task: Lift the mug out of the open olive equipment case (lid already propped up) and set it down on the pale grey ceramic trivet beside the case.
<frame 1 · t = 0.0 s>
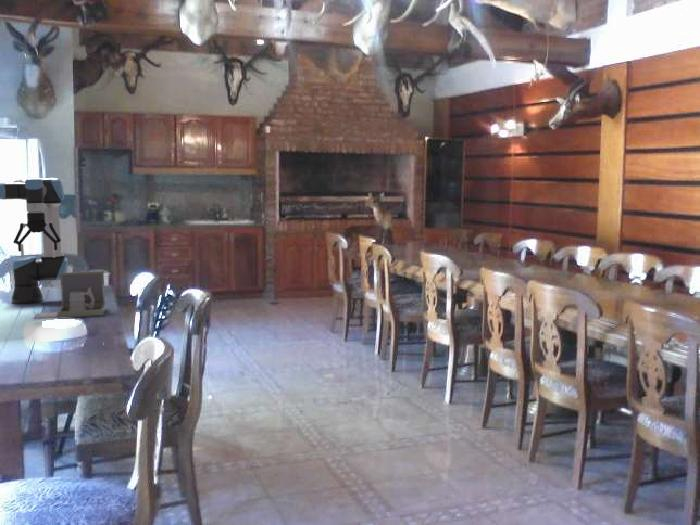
hand: (38, 258, 346), 28 cm above the table, fingers open, 13 cm apart
case: (82, 313, 357), on the table
trivet: (46, 316, 352), on the table
mug: (82, 312, 357), resting on case
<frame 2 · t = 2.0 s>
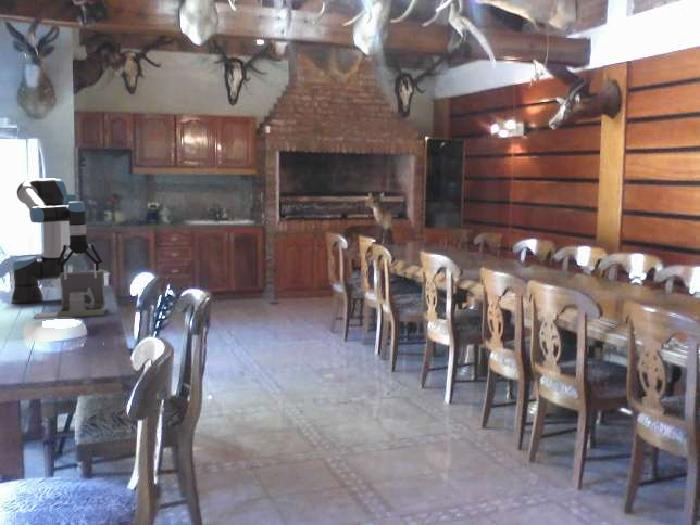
hand: (80, 278, 355), 17 cm above the table, fingers open, 13 cm apart
nothing on the table moved.
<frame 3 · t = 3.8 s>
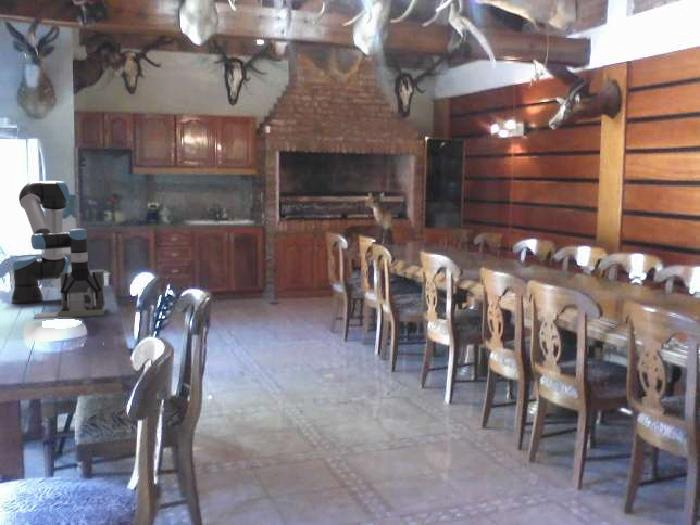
hand: (82, 306, 357), 3 cm above the table, fingers closed on mug, 11 cm apart
mug: (82, 313, 357), resting on case, touching gripper
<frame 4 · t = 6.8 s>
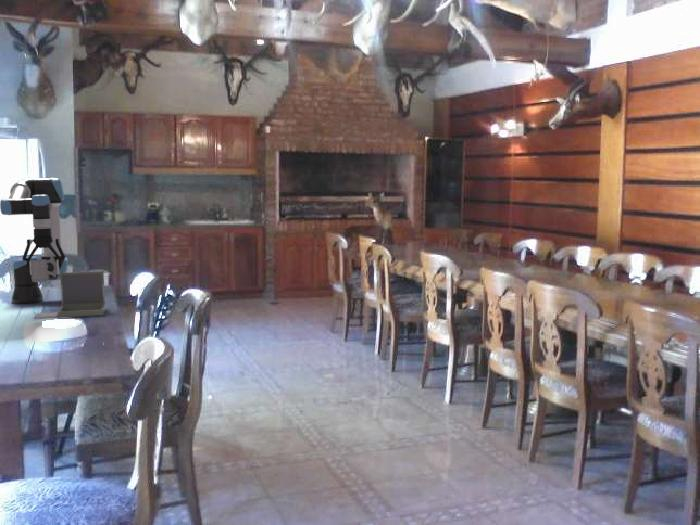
hand: (45, 274, 350), 20 cm above the table, fingers closed on mug, 11 cm apart
mug: (45, 280, 350), point 17 cm above the table, touching gripper
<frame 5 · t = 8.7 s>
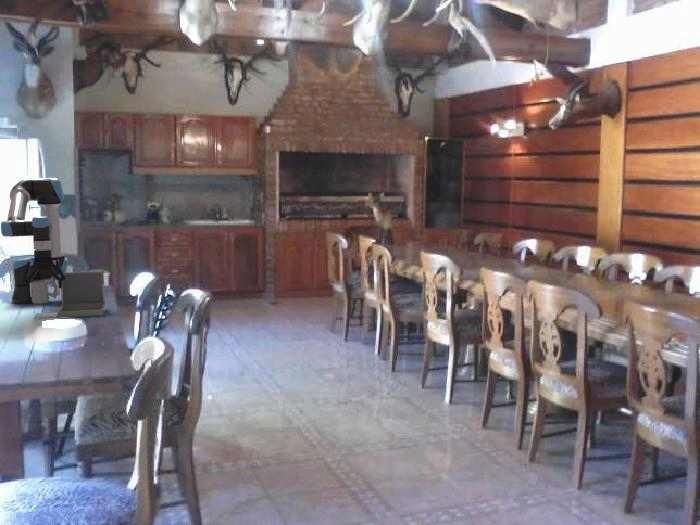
hand: (45, 295, 351), 10 cm above the table, fingers closed on mug, 11 cm apart
mug: (45, 302, 351), point 7 cm above the table, touching gripper
when the fingers open (5 cm above the table, at t = 10.3 s): mug drops 1 cm, resting on trivet.
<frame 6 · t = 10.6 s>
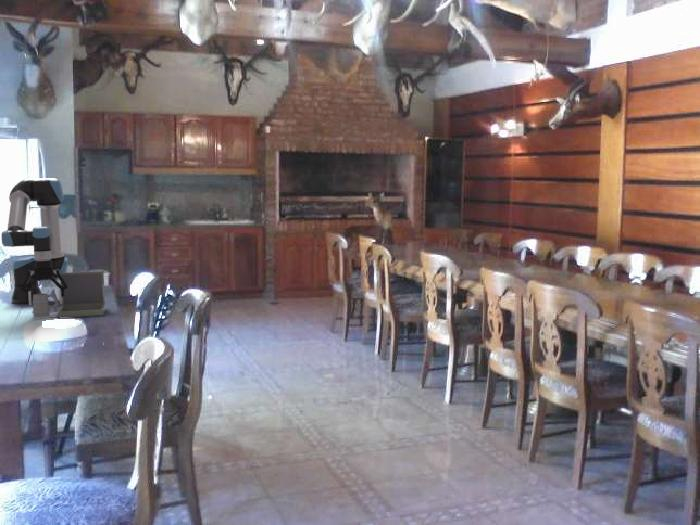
hand: (45, 304, 351), 5 cm above the table, fingers open, 13 cm apart
mug: (46, 315, 352), resting on trivet
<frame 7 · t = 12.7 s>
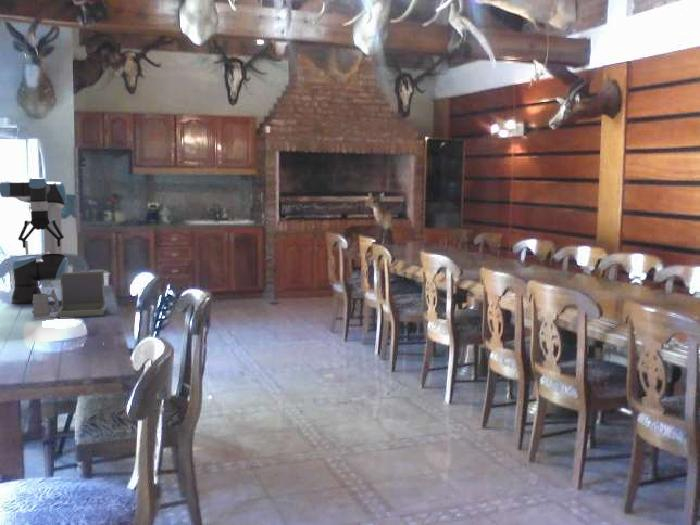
hand: (42, 254, 360), 28 cm above the table, fingers open, 13 cm apart
nothing on the table moved.
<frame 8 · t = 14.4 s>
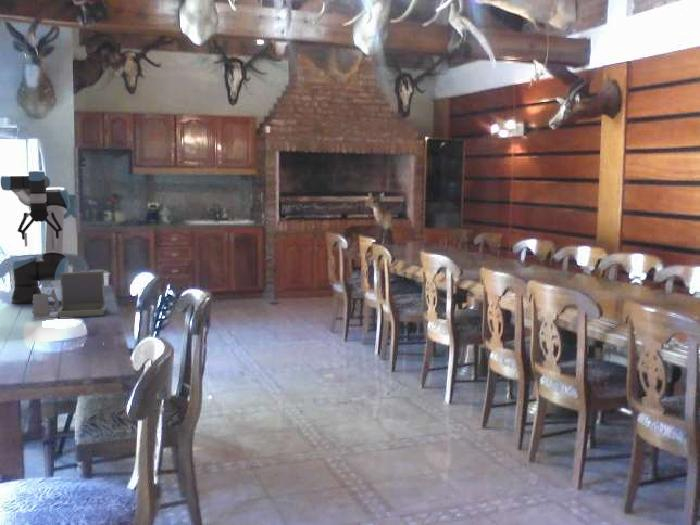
hand: (41, 245, 365), 32 cm above the table, fingers open, 13 cm apart
nothing on the table moved.
at the end: mug inside the target area on the trivet (0.1 cm from its centre), point 0.4 cm above the trivet's base; mug tilted 0°; the gripper is holding nothing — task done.
